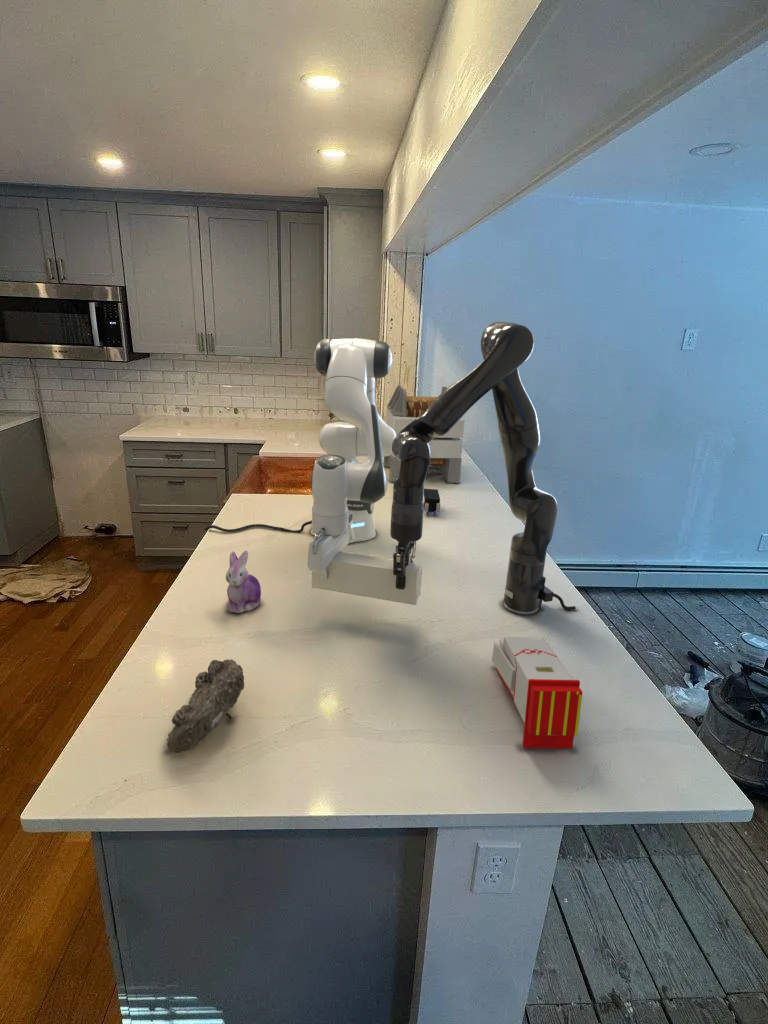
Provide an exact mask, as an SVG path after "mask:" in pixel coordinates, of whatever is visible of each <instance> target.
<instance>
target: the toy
mask: <svg viewBox="0 0 768 1024" xmlns="http://www.w3.org/2000/svg"><path fill="white" fill-rule="evenodd" d="M491 662H492V663H493V665H494V667H495V669H496V671H497V673H498V675H499V676H500V678H501V680H502V683H503V684H504V686H505V688H506V689H507V691H508V693H509V695H510V697H511V698H512V700H513V702H514V705H515V707H516V709H517V711H518V713H519V715H520V717H521V719H522V722H523V724H524V725H523V736H522V748H524V749H573V747H574V738H575V736H577V737H578V734H579V725H580V717H581V710H582V709H581V708H582V701H583V700H582V699H583V690H582V689H581V688H580V685H581V681H580V679H574V677H573V676H572V675H571V673H570V672H569V670H568V669H567V668H566V667H565V665H564V664H563V662H562V661H561V660H560V658H559V657H558V656H557V654H556V653H555V651H554V650H553V649H552V647H551V645H550V643H549V642H547V640H546V639H545V637H543V636H542V637H541V636H535V637H534V636H503V637H500V638H499V642H498V643H497V642H494V643H493V649H492V657H491Z"/></svg>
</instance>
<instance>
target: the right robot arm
mask: <svg viewBox="0 0 768 1024" xmlns="http://www.w3.org/2000/svg"><path fill="white" fill-rule="evenodd" d="M534 347H535V338H534V334H533V332H532V331H531V329H530V328H529V327H527V326H526V325H524V324H521V323H518V322H517V323H516V322H509V321H494V322H491V323H490V324H488V325H487V326H486V327H485V328H484V330H483V332H482V334H481V339H480V352H481V355H482V361H481V362H480V363H479V364H478V365H477V366H476V367H475V368H474V369H473V370H471V371H470V372H469V373H467V374H465V375H464V376H463V377H461V378H460V379H458V380H457V381H456V382H454V383H452V384H451V385H449V386H448V387H447V389H446V390H445V391H443V392H442V391H441V392H442V393H441V392H440V394H439V395H438V396H436V397H437V398H436V399H435V401H434V402H433V403H432V404H431V405H430V406H429V407H428V408H427V409H426V410H425V412H424V413H423V414H422V415H421V416H419V417H418V418H416V419H415V420H413V421H412V422H411V423H410V424H408V425H407V426H406V427H404V428H403V429H402V430H401V431H400V432H399V433H398V434H397V436H396V437H395V439H394V440H393V443H392V452H393V454H394V456H395V457H396V458H397V459H398V460H399V461H400V472H399V475H397V476H396V477H395V480H394V482H393V491H392V502H391V503H392V504H391V508H390V509H391V510H390V530H389V531H390V532H389V533H390V534H389V535H390V537H391V538H392V539H393V540H395V541H396V542H397V544H396V545H395V550H394V551H395V552H394V553H393V554H392V560H393V575H396V588H397V589H402V590H403V589H405V582H406V574H407V572H406V571H407V566H409V565H410V562H411V563H414V559H415V558H416V548H417V547H416V546H417V542H418V541H420V540H421V539H422V537H423V528H424V527H423V525H424V513H425V511H424V508H423V500H424V489H425V481H426V478H427V476H428V471H429V468H430V466H429V464H430V456H431V454H430V447H429V445H428V443H429V442H430V441H431V440H432V439H434V438H435V437H442V436H444V435H445V434H447V433H448V432H449V431H450V429H451V428H452V427H453V426H454V425H455V424H456V423H457V422H458V421H459V420H460V419H461V418H462V419H463V417H464V415H465V414H467V412H469V410H470V409H471V408H472V407H473V406H475V404H476V403H478V402H479V401H480V400H481V399H482V398H483V397H484V396H485V395H486V394H487V393H489V392H490V391H492V397H493V403H494V408H495V414H496V420H497V427H498V432H499V433H498V434H499V438H500V442H501V447H502V451H503V458H504V459H503V460H504V465H505V470H506V475H507V476H506V477H507V490H508V491H507V492H508V503H509V508H510V512H511V514H512V515H513V516H514V517H515V518H516V519H517V520H518V521H521V522H522V523H525V524H524V529H523V532H518V533H515V534H514V535H512V537H511V539H510V540H511V541H510V549H509V557H508V564H507V572H506V579H505V587H504V593H503V595H504V596H503V601H502V606H503V607H504V609H506V610H507V611H509V612H511V613H514V614H516V615H525V616H526V615H527V616H528V615H533V614H536V613H537V612H538V611H539V610H542V605H543V602H544V603H548V602H553V600H554V599H553V598H555V599H557V600H558V601H559V603H560V607H561V608H562V609H564V610H566V611H575V610H576V608H577V607H576V606H574V605H571V606H567V605H565V602H564V599H563V598H562V597H561V596H560V595H559V594H557V593H555V592H554V591H553V590H551V589H550V588H549V587H547V586H546V579H547V578H546V577H545V575H544V572H545V565H546V559H547V558H546V557H547V551H548V547H549V545H550V542H551V541H552V539H553V534H554V530H555V526H556V521H557V516H558V502H557V499H556V498H555V497H554V495H552V494H551V493H548V492H546V491H545V490H544V491H543V490H542V489H540V488H538V487H537V485H536V482H535V478H534V477H535V476H534V471H533V464H534V460H535V458H536V456H537V453H538V451H539V448H540V443H541V434H540V427H539V426H540V425H539V421H538V420H539V419H538V415H537V412H536V409H535V407H534V405H533V403H532V401H531V399H530V397H529V395H528V393H527V391H526V389H525V387H524V385H523V383H522V380H521V377H520V373H519V368H520V367H521V366H522V365H523V364H524V363H525V362H526V361H527V360H528V359H529V358H530V357H531V355H532V353H533V350H534ZM399 568H401V569H402V570H399Z"/></svg>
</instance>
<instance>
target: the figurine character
mask: <svg viewBox="0 0 768 1024" xmlns="http://www.w3.org/2000/svg"><path fill="white" fill-rule="evenodd" d="M423 508H424V513H426V516H427V517H428V516H430V515H429V514H433V516H434V517H436V516H437V513H440V512H441V498H440V493H439V489H435V488H424V495H423Z"/></svg>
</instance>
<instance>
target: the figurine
mask: <svg viewBox="0 0 768 1024" xmlns="http://www.w3.org/2000/svg"><path fill="white" fill-rule="evenodd" d="M248 558H249V551H248V550H244V551H243V552H242V553H241V554H240V556H239V557H238V556H237V553H236V552H235V551H231V552H230V554H229V567H228V569H227V572H226V574H225V580H226V582H227V583H228V586H227V589H226V595H227V599H228V611H229V612H231V613H235V614H236V613H237V614H241V613H244V612H249V611H252V610H254V609H256V608H257V607H259V605H260V604H261V596H262V588H261V583H260V582H259V580H258V578H257V577H256V576H254V575H252V574H249V572H248V569H247V567H246V565H247V562H248Z"/></svg>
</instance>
